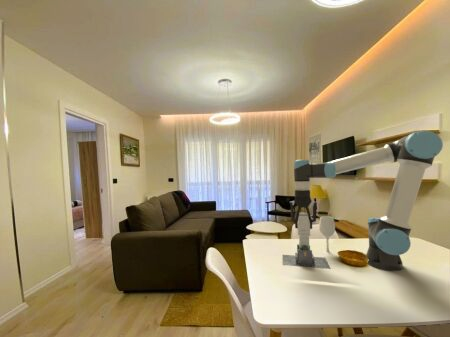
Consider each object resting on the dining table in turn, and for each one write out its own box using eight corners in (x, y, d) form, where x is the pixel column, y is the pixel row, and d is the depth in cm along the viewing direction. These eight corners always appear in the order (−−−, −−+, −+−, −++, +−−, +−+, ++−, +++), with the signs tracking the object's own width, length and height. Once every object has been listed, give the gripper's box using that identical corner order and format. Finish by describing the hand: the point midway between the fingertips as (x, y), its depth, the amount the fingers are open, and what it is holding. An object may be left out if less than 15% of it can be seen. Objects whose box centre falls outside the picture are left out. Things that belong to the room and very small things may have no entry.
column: (308, 249, 114) (307, 212, 115) (310, 252, 109) (308, 214, 110) (298, 248, 116) (297, 212, 116) (299, 252, 110) (298, 214, 111)
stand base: (325, 259, 116) (324, 241, 117) (330, 271, 103) (330, 250, 103) (282, 256, 122) (282, 239, 122) (282, 267, 108) (282, 247, 109)
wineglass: (319, 256, 122) (318, 218, 123) (319, 250, 130) (318, 215, 131) (337, 257, 119) (335, 219, 119) (335, 252, 127) (334, 216, 127)
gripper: (319, 188, 115) (320, 233, 114) (284, 189, 119) (286, 232, 119) (321, 190, 108) (323, 237, 107) (284, 190, 112) (286, 236, 111)
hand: (303, 234), depth 113 cm, fingers closed on column, 4 cm apart
